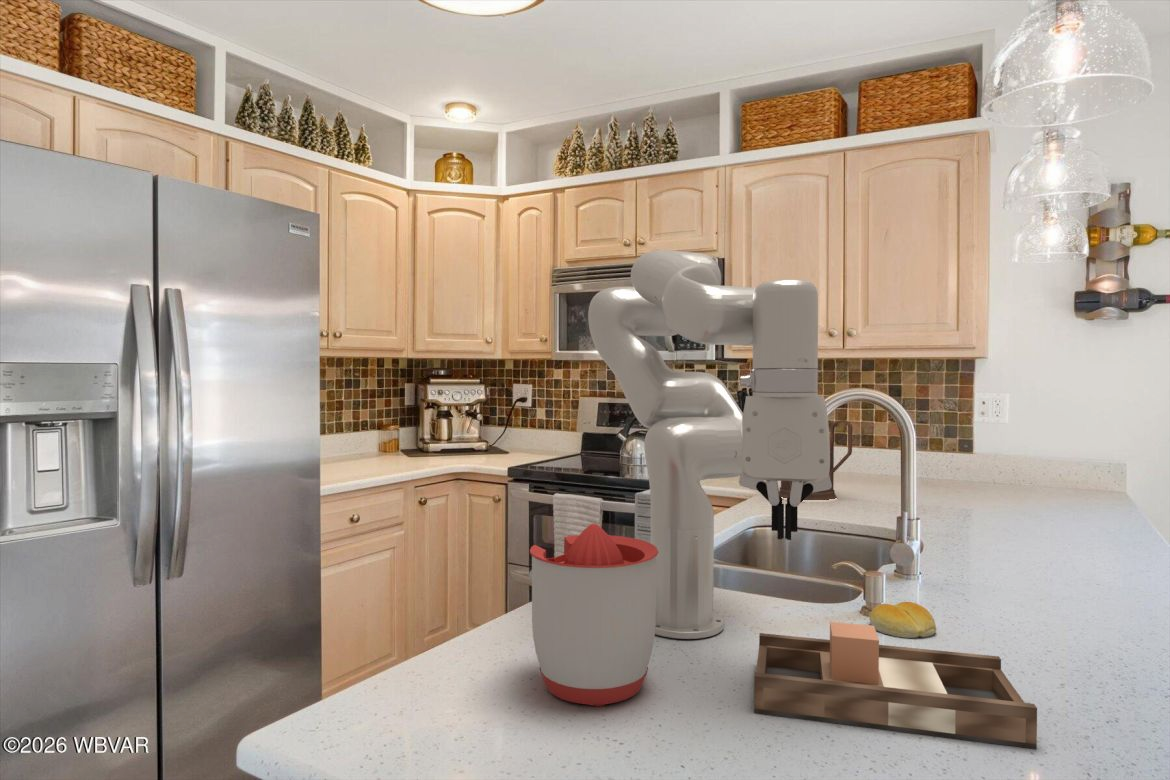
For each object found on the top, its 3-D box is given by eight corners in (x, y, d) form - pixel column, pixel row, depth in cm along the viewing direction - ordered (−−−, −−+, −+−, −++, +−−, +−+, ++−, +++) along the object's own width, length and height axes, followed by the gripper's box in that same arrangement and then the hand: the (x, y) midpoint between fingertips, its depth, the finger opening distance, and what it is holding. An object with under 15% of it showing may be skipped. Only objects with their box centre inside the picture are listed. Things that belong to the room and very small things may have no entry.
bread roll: (859, 622, 111) (859, 596, 111) (913, 620, 112) (914, 594, 112) (888, 642, 103) (888, 614, 103) (946, 639, 104) (946, 611, 104)
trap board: (754, 712, 80) (754, 675, 80) (759, 664, 94) (759, 632, 94) (1036, 749, 73) (1037, 708, 73) (998, 690, 86) (998, 656, 86)
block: (831, 679, 82) (832, 636, 82) (829, 662, 87) (829, 621, 87) (878, 684, 81) (878, 640, 81) (873, 667, 86) (874, 625, 86)
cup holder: (797, 491, 238) (798, 415, 237) (866, 500, 219) (867, 419, 219) (764, 497, 226) (764, 418, 225) (833, 507, 207) (834, 421, 207)
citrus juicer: (575, 648, 99) (575, 505, 99) (682, 682, 88) (683, 521, 88) (492, 686, 87) (492, 523, 87) (605, 730, 76) (605, 544, 76)
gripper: (718, 384, 84) (718, 540, 84) (853, 384, 80) (853, 548, 80) (724, 384, 91) (724, 527, 92) (848, 384, 87) (848, 534, 87)
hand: (784, 537), depth 86 cm, fingers closed
